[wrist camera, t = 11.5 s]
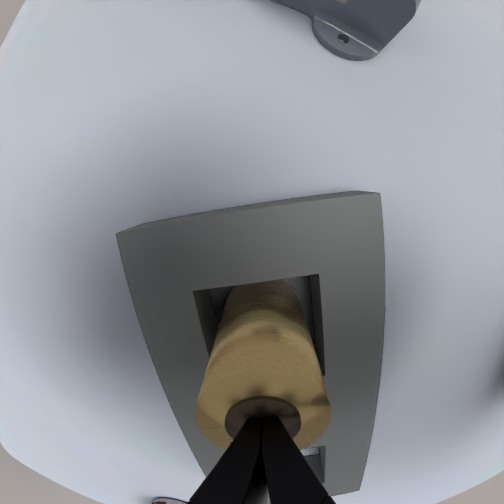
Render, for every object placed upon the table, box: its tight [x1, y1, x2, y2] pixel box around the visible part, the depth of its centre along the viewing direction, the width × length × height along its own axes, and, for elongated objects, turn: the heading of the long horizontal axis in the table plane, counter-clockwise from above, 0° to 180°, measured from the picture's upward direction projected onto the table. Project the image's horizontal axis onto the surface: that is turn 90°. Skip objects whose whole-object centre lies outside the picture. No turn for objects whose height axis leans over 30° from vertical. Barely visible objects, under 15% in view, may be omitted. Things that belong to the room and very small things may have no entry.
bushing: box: [195, 279, 331, 451], centre depth 11 cm, size 4×4×8 cm
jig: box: [116, 191, 385, 504], centre depth 15 cm, size 11×22×3 cm, turn 9°
